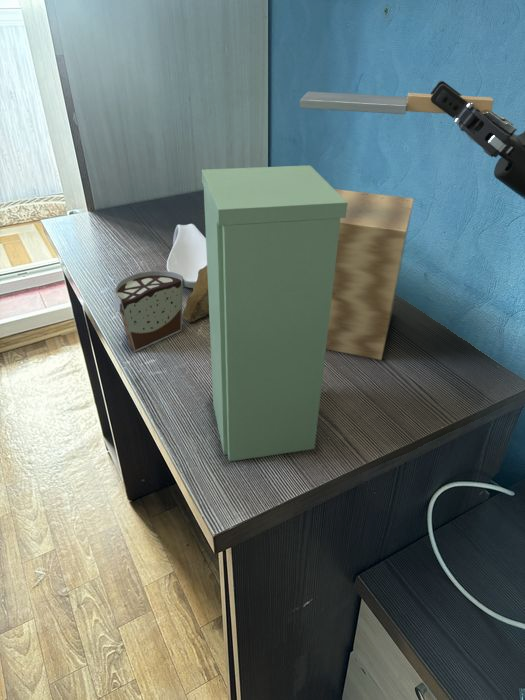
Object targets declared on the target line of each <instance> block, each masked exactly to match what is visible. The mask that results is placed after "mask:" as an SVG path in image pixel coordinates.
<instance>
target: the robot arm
mask: <svg viewBox="0 0 525 700" xmlns="http://www.w3.org/2000/svg"><path fill="white" fill-rule="evenodd" d="M430 94H433V95H432V96H431V101H432V103H434V104H435V105H436V106H438V107H439V108H440V109H442V110H443V111H444V112H446V113H447V114H446V115H448V116H449V117H450V118H452V119H453V122H454V124H455V125H457V126H458V128H459V130H460V131H461V132H463V133H465V134H466V135H467V137H468V139H470V140H471V141H472V142H474V143H475V144H476V145H478V146H480V147H481V148H482V150H483V153H485V154H486V155H488V156H489V157H491V158H493V157H494V158H496V159H497V158H498V156H499V159H498V160H497V162H496V164H495V166H494V169H493V176H494V177H495V179H497V180H498V181H499V182H500V183H502V184H503V185H505V186H506V187H507V188H508V189H510V190H511V191H513V192H514V193H515V194H516V195H518V196H520V197H521V198H522V199H523V200H525V130H524V131H523V132H522V133H520V134H518V135H517V134H515V133H516V131H518V130H517V128H516V127H515V125H514V123H512V121H510V120H509V119H508V118H506V117H505V116H500V115H498V114H497V113H496V112H495V111H493V109H492V110H491V112H490V111H489V110H484V111H480V110H479V109H478V108H476V107H475V106H474V104H473V103H472V102H471V103H470V102H467V104H466V105H464V104H465V103H466V100H464V99H463V98H462V97H460V96H463V95H462V94H461V93H460V92H459V91H458V90H456V89H454V87H452V86H451V85H450V84H448V83H447V82H445V81H444V80H439V81H438V82H437V84H436V85H435V86H434V87H433V89H432V90H431V92H430Z"/></svg>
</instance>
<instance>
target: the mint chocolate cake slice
mask: <svg viewBox="0 0 525 700" xmlns="http://www.w3.org/2000/svg"><path fill="white" fill-rule="evenodd" d="M185 286H186V284H185V280H184V279H183V276H182V275H180V274H177V273H174V272H169V271H167V270H147V271H140V272H137V273H133V274H131V275H129V276H126V277H124V278H123V279H122V280H120V281H119V282H118V283H117V284H116V286H115V290H114V292H113V307H114V309H115V310H116V312H118V313H119V314H120V316H121V319H122V323H123V327H124V330H125V334H126V337H127V342H128V345H129V348H130V349H131V351H132V352H134V353H137V352H139V351H141V350H144V349H146V348H148V347H150V346H153V345H154V344H156V343H158V342H161V341H164V340H165V339H167V338H169V337H171V336H174V335H176V334H178V333H181V332H183V318H182V315H183V295H184V293H183V292H184V287H185Z"/></svg>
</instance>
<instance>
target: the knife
mask: <svg viewBox="0 0 525 700" xmlns="http://www.w3.org/2000/svg"><path fill="white" fill-rule="evenodd" d="M432 95H433V94H431V93H420V92H408V93H407V96H399V95H398V96H397V95H381V94H379V95H378V94H361V93H360V94H359V93H344V92H343V93H341V92H325V91H307V92H306V93H305V94H304V95H303V96H302V97H301V98H300V99H299V109H308V110H309V109H311V110H324V111H326V110H328V111H342V112H343V111H344V112H358V113H360V112H361V113H373V114H375V113H378V114H389V115H390V114H393V115H406V112H412V113H413V112H414V113H429V114H430V113H431V114H444V115H445V114H446V115H448V114H447V113H446V112H444V111H443V110H442V109H440V108H439V107H438V106H436V105H435V104H434V103H432V101H431V96H432ZM460 97H462V98H463V99H464V100H466V103H465V104H464V105H466V104H467V102H470V103H471V102H472V103H473V104H474V106H475V107H476V108H478V109H479V110H480V111H484V110H489V111H490V112H491V110H492V111H493V106H494V99H493V97H491V96H472V95H462V96H460Z"/></svg>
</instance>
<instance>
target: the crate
mask: <svg viewBox="0 0 525 700" xmlns="http://www.w3.org/2000/svg"><path fill="white" fill-rule="evenodd" d="M334 189H335V190H336V191H337V192H338V193H339V194H340V195H341V196H342V197H343V198H344V199H345V200H346V201H347V211H346V218H341V220H340V229H339V238H338V247H337V255H336V264H335V273H334V282H333V291H332V300H331V308H330V317H329V326H328V335H327V344H326V350H329V351H333V352H339V353H342V354H343V353H344V354H349V355H353V356H359V357H364V358H368V359H369V358H370V359H374V360H380V361H382V360H383V357H384V356H383V355H384V351H385V347H386V342H387V337H388V333H389V329H390V324H391V320H392V316H393V311H394V310H393V309H394V305H395V299H396V293H397V290H398V289H397V288H398V284H399V279H400V274H401V268H402V263H403V257H404V253H405V247H406V243H407V237H408V233H409V226H410V223H411V216H412V211H413V207H414V206H413V205H414V202H415V198H412V197H406V196H405V197H404V196H397V195H387V194H380V193H379V194H378V193H371V192H362V191H356V190H355V191H354V190H345V189H338V188H334Z"/></svg>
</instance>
